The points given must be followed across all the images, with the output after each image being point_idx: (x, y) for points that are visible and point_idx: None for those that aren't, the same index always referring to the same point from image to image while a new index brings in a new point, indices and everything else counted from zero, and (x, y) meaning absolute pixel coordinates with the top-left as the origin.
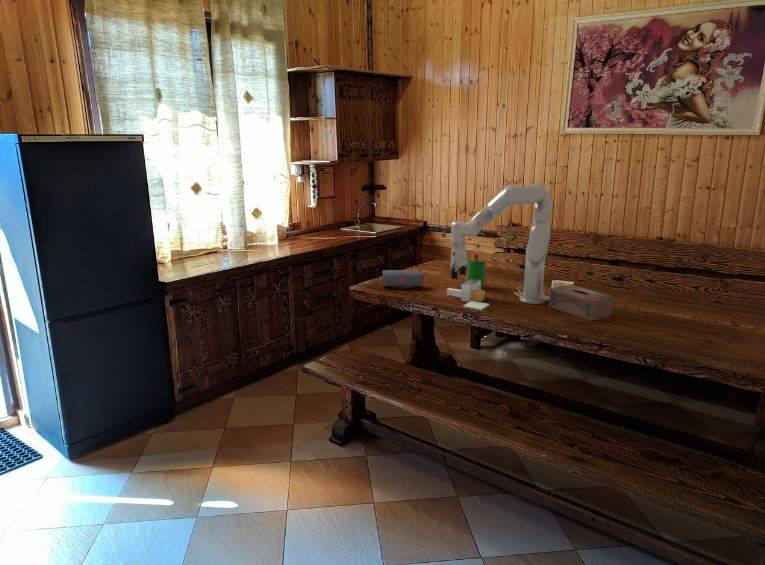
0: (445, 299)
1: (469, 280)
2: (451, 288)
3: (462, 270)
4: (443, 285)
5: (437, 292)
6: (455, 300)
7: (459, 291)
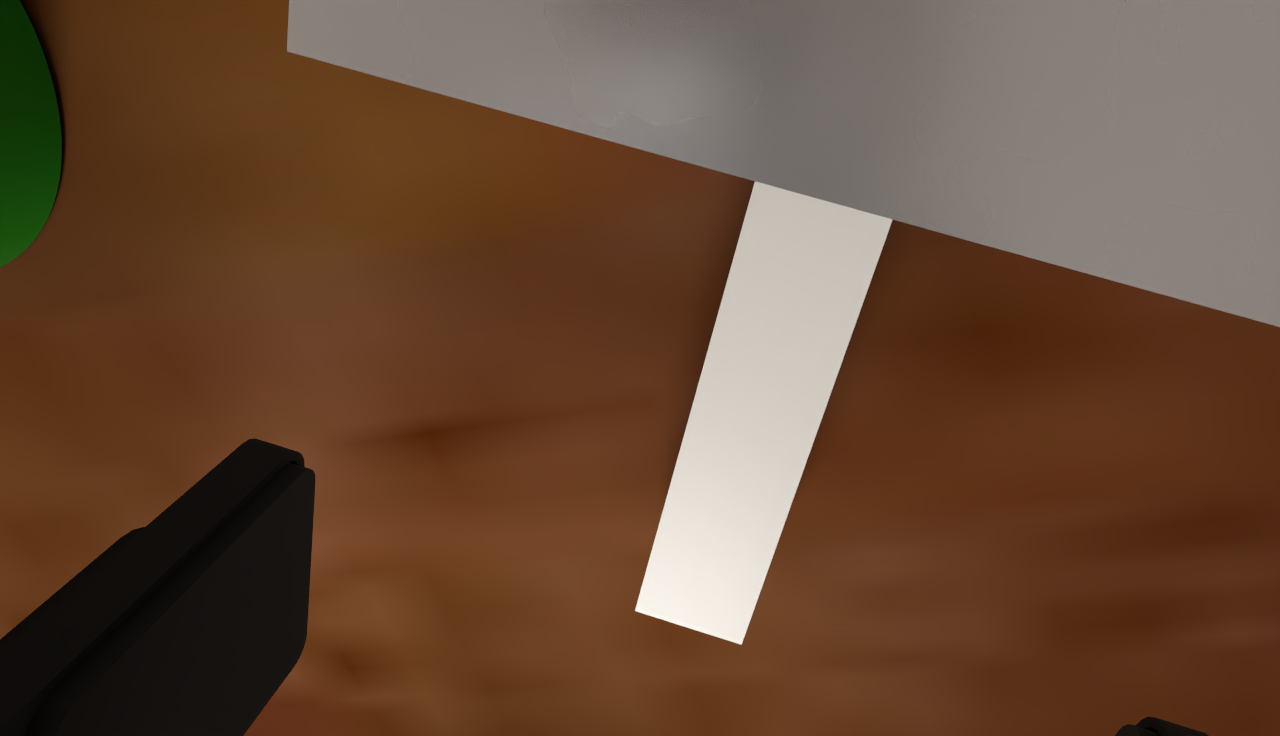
0: (1132, 546)
1: (652, 122)
2: (653, 562)
3: (182, 704)
4: None
5: (640, 723)
6: (1184, 323)
7: (848, 338)
